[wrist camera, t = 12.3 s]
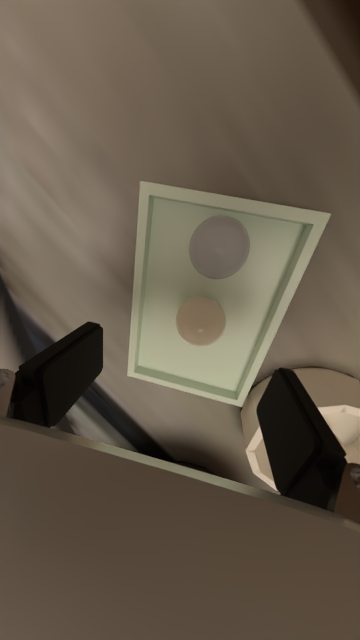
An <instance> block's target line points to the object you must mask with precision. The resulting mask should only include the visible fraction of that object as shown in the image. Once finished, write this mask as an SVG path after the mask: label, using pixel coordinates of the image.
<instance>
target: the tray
mask: <svg viewBox="0 0 360 640" xmlns="http://www.w3.org/2000/svg"><path fill="white" fill-rule="evenodd" d="M218 215H225V216H230V217H233V218H235V219H237V220H238V221H239V222H241V223H242V225H243V226H244V227H245V229H246V230H247V232H248V235H249V239H250V251H249V255H248V258H247V260H246V262H245V264H244V265H243V267H242V268H241V269H240V270H239V271H238V272H237V273H235V274H234V275H232V276H230V277H228V278H224V279H210V278H207V277H205V276H203V275H201V274H200V273H199V272H198V271H197V270H196V269H195V268H194V266H193V265H192V263H191V260H190V256H189V243H190V239H191V237H192V234H193V232H194V231H195V229H196V228H197V227H198V226H199V225H200V224H201V223H202V222H203V221H205V220H206V219H208V218H210V217H213V216H218ZM330 216H331V213H325V212H319V211H313V210H307V209H301V208H296V207H290V206H284V205H278V204H272V203H267V202H261V201H255V200H249V199H243V198H238V197H232V196H226V195H220V194H214V193H209V192H203V191H197V190H191V189H185V188H179V187H174V186H168V185H162V184H156V183H150V182H145V181H140V192H139V207H138V222H137V238H136V253H135V268H134V283H133V298H132V313H131V328H130V343H129V359H128V374H127V376H131V377H134V378H138V379H142V380H145V381H149V382H152V383H156V384H160V385H163V386H167V387H171V388H174V389H178V390H181V391H185V392H189V393H192V394H196V395H200V396H203V397H207V398H211V399H214V400H218V401H221V402H225V403H229V404H232V405H236V406H240V407H242V406H243V403H244V401H245V399H246V397H247V395H248V393H249V391H250V388H251V386H252V384H253V382H254V380H255V378H256V375H257V373H258V371H259V369H260V367H261V365H262V362H263V360H264V358H265V356H266V354H267V352H268V349H269V347H270V345H271V343H272V341H273V339H274V337H275V334H276V332H277V330H278V328H279V326H280V324H281V321H282V319H283V317H284V315H285V313H286V311H287V308H288V306H289V304H290V302H291V300H292V298H293V295H294V293H295V291H296V289H297V287H298V285H299V283H300V280H301V278H302V276H303V274H304V272H305V270H306V267H307V265H308V263H309V261H310V259H311V257H312V254H313V252H314V250H315V248H316V246H317V244H318V241H319V239H320V237H321V235H322V233H323V231H324V229H325V226H326V224H327V222H328V220H329V218H330ZM196 296H205V297H209V298H212V299H213V300H215V301H216V302H218V303H219V304H220V305H221V307H222V308H223V310H224V313H225V316H226V326H225V330H224V332H223V334H222V336H221V337H220V338H219V339H218V340H217V341H216V342H214V343H212V344H210V345H207V346H195V345H192V344H189V343H188V342H186V341H185V340H184V339H183V338H182V337H181V336H180V334H179V333H178V331H177V327H176V315H177V312H178V310H179V308H180V306H181V305H182V304H183V303H184V302H185V301H187V300H188V299H190V298H193V297H196Z"/></svg>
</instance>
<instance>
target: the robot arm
mask: <svg viewBox="0 0 360 640" xmlns="http://www.w3.org/2000/svg"><path fill="white" fill-rule="evenodd" d="M102 368H103V328H102V327H101V326H100V324H97V323H93V322H87V323H85V324H84V325H82V326H80V327H79V328H77V329H76V330H74V331H73V332H71V333H70V334H68V335H67V336H65V337H63V338H62V339H60V340H59V341H57V342H56V343H54V344H53V345H51V346H50V347H48V348H46V349H45V350H43V351H42V352H40V353H39V354H37V355H36V356H34V357H33V358H31V359H30V360H28V361H26V362H25V363H23V364H22V365H20V366H19V371H17V372H16V373H14V372H13V371H11V370H8V369H0V640H360V464H357V463H348V462H347V460H346V459H345V456H346V455H347V454H346V452H345V451H344V449H343V447H342V446H341V444H340V443H339V441H338V439H337V438H336V436H335V435H334V433H333V432H332V430H331V428H330V427H329V425H328V424H327V422H326V421H325V419H324V417H323V416H322V414H321V413H320V411H319V410H318V408H317V406H316V405H315V403H314V402H313V400H312V399H311V397H310V395H309V394H308V392H307V391H306V389H305V387H304V386H303V384H302V383H301V381H300V380H299V378H298V376H297V375H296V373H295V372H294V371H293V370H289V369H284V368H280V369H279V370H275V371H274V373H273V375H272V377H271V379H270V381H269V383H268V385H267V387H266V389H265V391H264V393H263V395H262V397H261V399H260V401H259V403H258V405H257V409H256V413H257V417H258V421H259V425H260V429H261V433H262V436H263V440H264V444H265V448H266V452H267V456H268V459H269V463H270V467H271V471H272V475H273V479H274V483H275V486H276V489H277V490H278V491H279V492H280V493H281V495H278V494H275V493H272V492H269V491H266V490H262V489H259V488H255V487H252V486H249V485H245V484H242V483H238V482H235V481H232V480H228V479H225V478H222V477H218V476H215V475H211V474H208V473H205V472H201V471H198V470H194V469H191V468H188V467H184V466H181V465H177V464H174V463H170V462H167V461H164V460H160V459H157V458H153V457H150V456H146V455H143V454H139V453H136V452H132V451H129V450H125V449H122V448H119V447H115V446H111V445H108V444H104V443H101V442H97V441H94V440H90V439H87V438H83V437H80V436H76V435H73V434H69V433H66V432H62V431H59V430H55V429H51V428H50V427H51V426H55V425H56V424H57V423H58V422H59V421H60V420H61V419H62V417H63V416H64V415H65V414H66V413H67V412H68V410H69V409H70V408H71V407H72V406H73V405H74V403H75V402H76V401H77V400H78V399H79V397H80V396H81V395H82V394H83V393H84V392H85V390H86V389H87V388H88V387H89V386H90V385H91V383H92V382H93V381H94V380H95V379H96V377H97V376H98V375H99V374H100V373H101V371H102Z"/></svg>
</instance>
